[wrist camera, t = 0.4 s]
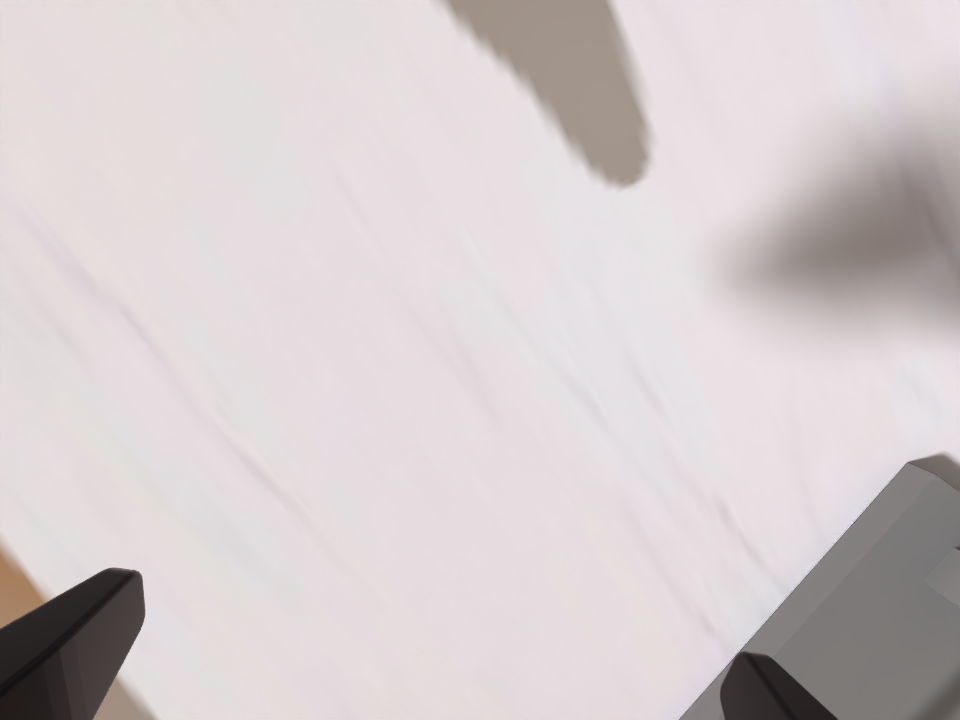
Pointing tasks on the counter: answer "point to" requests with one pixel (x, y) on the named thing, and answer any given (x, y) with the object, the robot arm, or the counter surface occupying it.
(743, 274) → the counter surface
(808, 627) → the stand
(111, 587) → the robot arm
